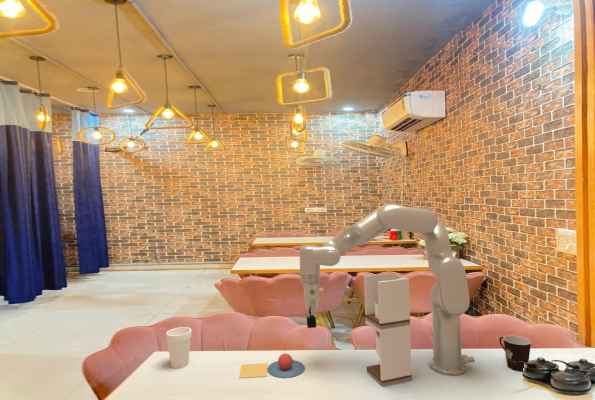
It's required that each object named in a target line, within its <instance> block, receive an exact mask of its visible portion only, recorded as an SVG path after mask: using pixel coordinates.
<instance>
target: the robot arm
mask: <svg viewBox="0 0 595 400" xmlns="http://www.w3.org/2000/svg"><path fill="white" fill-rule="evenodd" d="M389 229H393V230H397V231H398V230H399V231H403V232H404V231H405V232H410V233H416V234H417V233H418V234H421V235H422V238H423V241H424V244H425V248H426V249H425V251H426V255H427V263H428V269H429V272H430V273H431V274H432V275H433V276H434V277H435V278H437V281H436V282H434V283H433V284H432V286H431V287H430V291H429V292H430V293H429V294H430V295H429V297H430V303H431V311H432V347H433V349H432V351H433V353H432V355H433V357H432V358H430V359H429V361H428V365H429V367H430V369H432V370H433V371H435V372H437V373H440V374H443V375H449V376H459V375H463V374H465V373H466V372H467V363H475V362H476V361H475V357H474V356H468V355H467V354H462V330H461V329H462V328H461V327H462V324H461V323H462V322H461V321H462V320H461V315H464V314H465V313H466V312H467V311H468V309H469V307H470V300H471V299H470V292H469V285H468V281H467V280H468V279H467V272H466V269H465V266H464V265H463V263H462V262H461V259H459V258H458V257H456V256H454V254H453V251H452V246H451V241H450V236H449V233H448V230H447V229H446V226H445V225H444V224H443V222H442V221H441V219H439V218H438V216H437V214H436V212H433V211H432V210H431V209H428V208H427V209H426V208H422V207H412V206H405V205H401V204H394V203H385V204H382V205H380V206H379V207H377V208H376V209H375V210H373V211H372V212H370V213H369V214H367V215H365V216H364V217H362V218H361V219H360V220H359V221H357V222H355V223H354V224H352V225H351V226H348V227H347V228H346V229H344V230H343V231H340V233H338V234H337V235H335V236H333V237H332V238H330V239H329V240H328V241H326V242H325V243H324V244H322V246H318V245H316V244H304V245H301V246H300V247H299V275H300V277H299V278H300V279H299V281H300V284H302V285H303V300H304V306H305V309H306V326H307V328H308V329H313V328H316V327H317V317H316V316H317V315H316V311H320V309H321V307H320V291H319V284H320V283H321V266H325V267H333V266H336V265H338V264H339V262H340V260H341V256H342V255H344V254H345V253H347V252H348V251H350V250H351V249H353V248H355V247H358V246H363V245H365V244H368V243H369V242H372V241H373V240H374V239H376V238H378V237H379V236H380V235H382V234H383V233H384V232H386V231H388V230H389Z"/></svg>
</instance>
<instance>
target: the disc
mask: <svg viewBox="0 0 595 400" xmlns="http://www.w3.org/2000/svg"><path fill="white" fill-rule="evenodd" d="M305 367H306V366H305V365H304V364H303V362H301V361H299V360H294V359H293V363H292V366H291V367H290V368H289V369H286V370H284V369H282V368H280V366H279V365H278V360H277V361H273V362H272V363H270V364H269V365H267V374H269V375H270V376H272V377H274V378H279V379H289V378H295V377H298V376H299V375H301V374H303V373H304V371H305V369H306V368H305Z"/></svg>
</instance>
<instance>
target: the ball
mask: <svg viewBox="0 0 595 400" xmlns="http://www.w3.org/2000/svg"><path fill="white" fill-rule="evenodd" d="M293 360H294V359H293V357H292V356H291V355H290V354H289V353H286V352H285V353H282V354H280V356H279V357H278V359H277V361H278V365H279V366H280V368H282V369H284V370H286V369H289V368H290V367H291V366H292V363H293Z"/></svg>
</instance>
